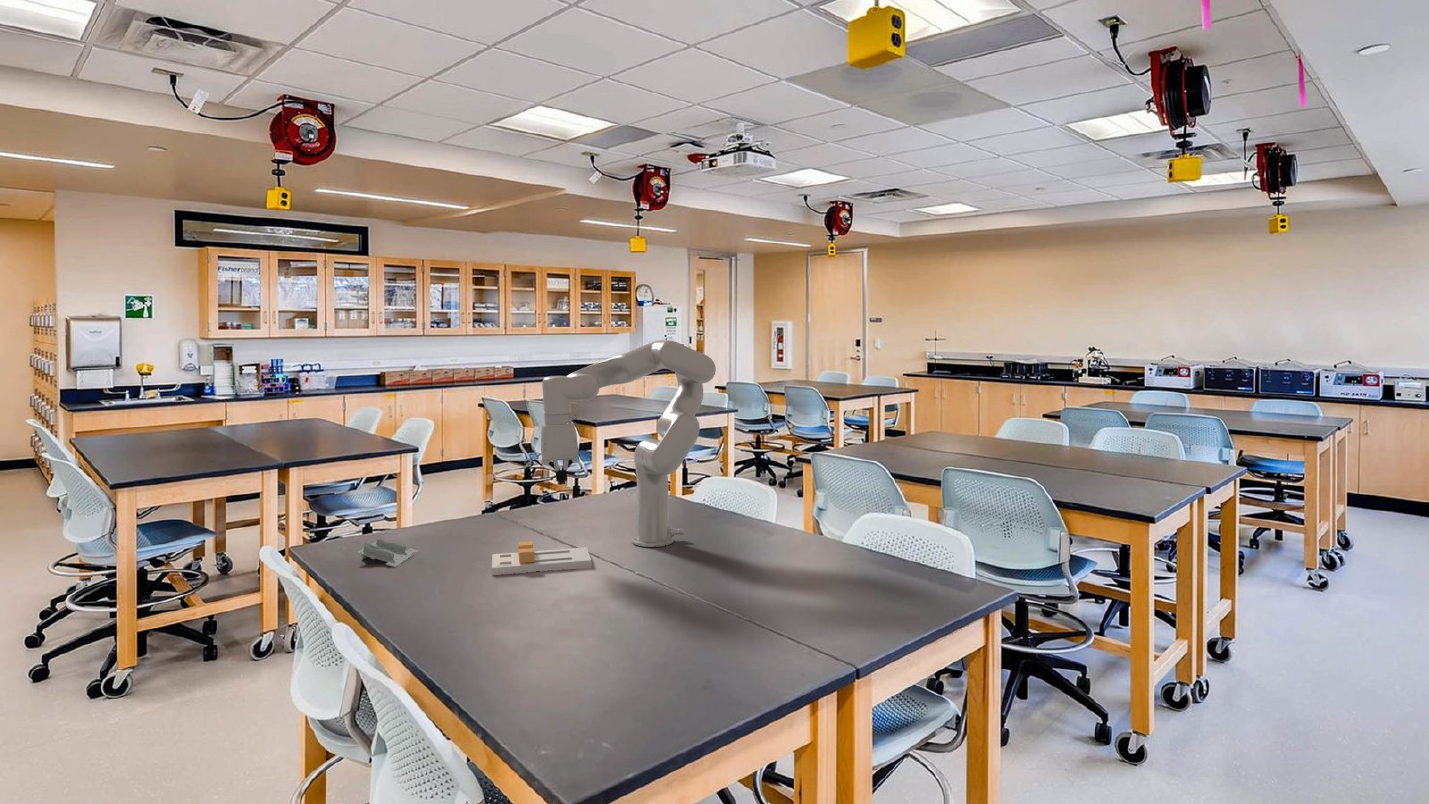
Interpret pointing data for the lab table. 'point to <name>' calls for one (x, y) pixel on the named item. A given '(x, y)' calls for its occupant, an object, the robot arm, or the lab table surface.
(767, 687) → the lab table surface
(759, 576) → the lab table surface
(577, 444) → the robot arm
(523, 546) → the switch tab
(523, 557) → the switch tab
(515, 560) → the switch panel
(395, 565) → the metal bracket
